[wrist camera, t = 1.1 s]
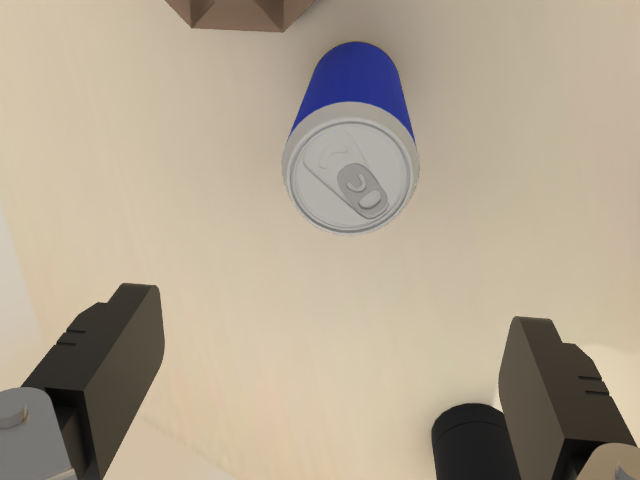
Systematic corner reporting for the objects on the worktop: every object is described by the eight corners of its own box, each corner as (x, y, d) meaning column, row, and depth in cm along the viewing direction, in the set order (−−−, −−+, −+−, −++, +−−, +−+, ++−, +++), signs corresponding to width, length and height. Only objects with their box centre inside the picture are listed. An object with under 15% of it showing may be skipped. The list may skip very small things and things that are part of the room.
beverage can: (294, 79, 34) (249, 168, 21) (363, 20, 32) (362, 77, 19) (348, 144, 36) (338, 266, 22) (417, 92, 34) (450, 191, 21)
